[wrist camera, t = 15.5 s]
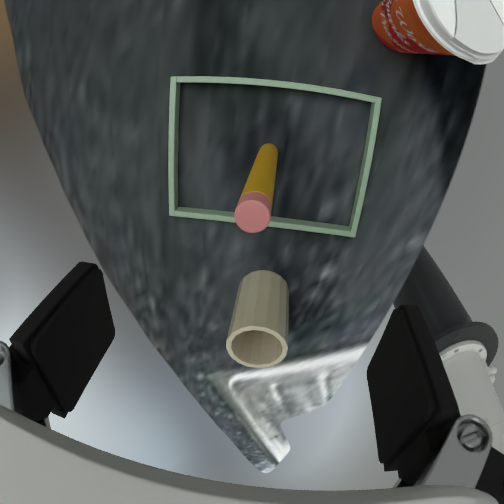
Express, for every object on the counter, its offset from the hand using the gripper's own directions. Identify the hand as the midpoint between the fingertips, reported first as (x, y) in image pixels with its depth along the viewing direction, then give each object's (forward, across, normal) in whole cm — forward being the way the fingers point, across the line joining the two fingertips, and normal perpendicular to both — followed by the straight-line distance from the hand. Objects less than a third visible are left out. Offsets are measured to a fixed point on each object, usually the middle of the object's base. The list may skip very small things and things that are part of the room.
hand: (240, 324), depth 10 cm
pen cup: (+24, 0, +15) cm, 29 cm away
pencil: (+23, +1, -1) cm, 23 cm away
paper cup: (+24, -10, -16) cm, 30 cm away
